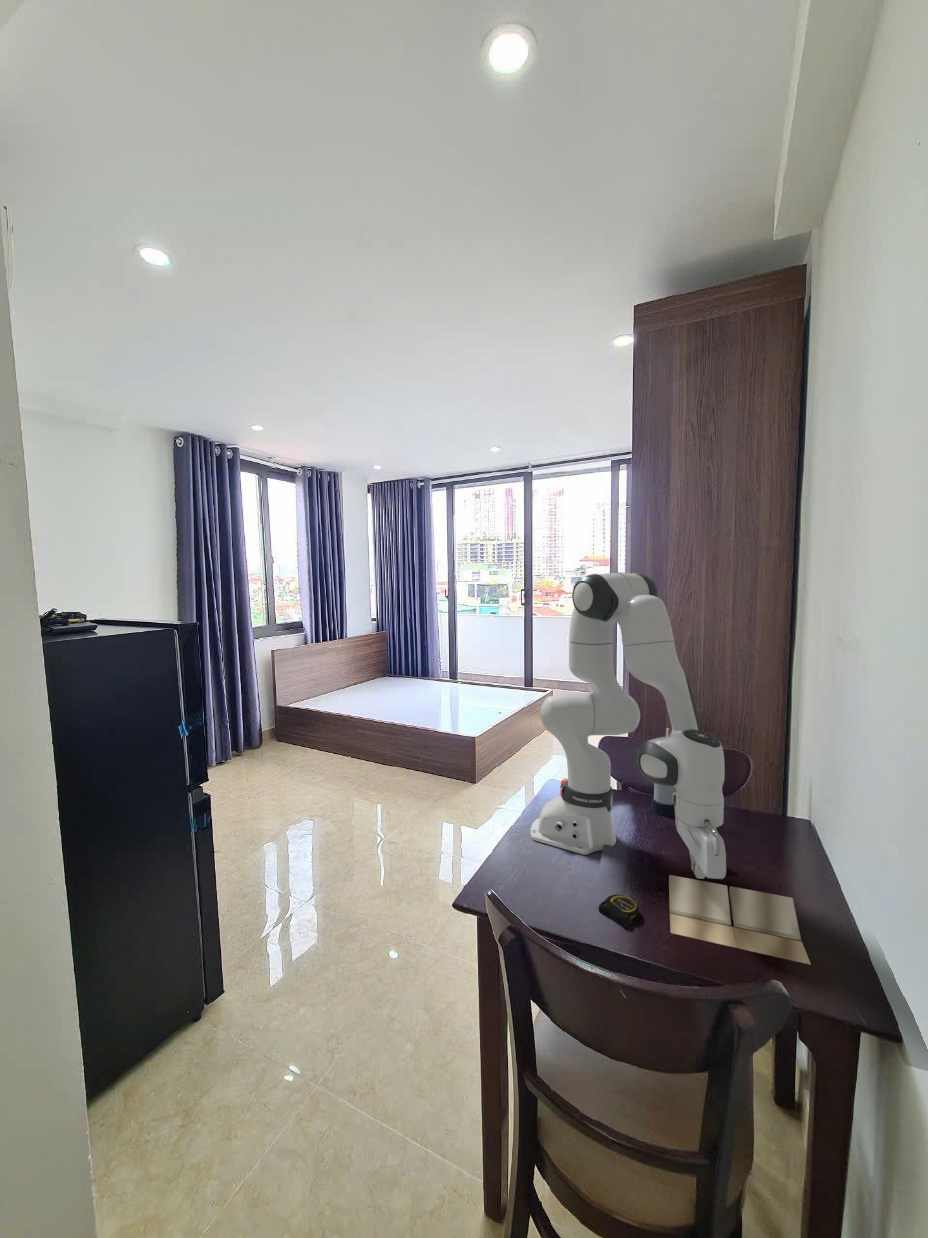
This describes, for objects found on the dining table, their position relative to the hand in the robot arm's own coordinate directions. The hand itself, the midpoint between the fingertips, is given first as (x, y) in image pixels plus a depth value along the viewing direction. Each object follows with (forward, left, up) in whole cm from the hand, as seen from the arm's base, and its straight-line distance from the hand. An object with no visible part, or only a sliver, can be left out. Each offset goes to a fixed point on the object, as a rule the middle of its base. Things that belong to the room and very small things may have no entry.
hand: (698, 874), depth 104 cm
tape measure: (-15, -11, -7) cm, 20 cm away
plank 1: (0, -3, -5) cm, 5 cm away
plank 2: (+11, -3, -4) cm, 13 cm away
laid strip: (+6, -10, -7) cm, 13 cm away
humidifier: (-5, +46, -7) cm, 47 cm away
